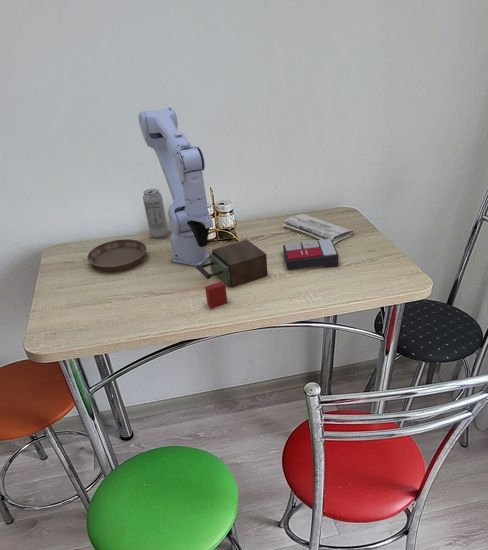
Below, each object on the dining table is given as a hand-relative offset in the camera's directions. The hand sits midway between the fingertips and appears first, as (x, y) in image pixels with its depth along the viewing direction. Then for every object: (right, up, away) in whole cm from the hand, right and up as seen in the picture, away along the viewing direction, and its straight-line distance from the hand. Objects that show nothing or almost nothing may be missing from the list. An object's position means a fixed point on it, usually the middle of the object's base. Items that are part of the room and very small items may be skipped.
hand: (202, 245), depth 136 cm
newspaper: (+34, +10, +26) cm, 44 cm away
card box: (+5, -17, -8) cm, 20 cm away
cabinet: (+10, -7, +4) cm, 13 cm away
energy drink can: (-19, +9, +28) cm, 35 cm away
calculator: (+31, -2, +10) cm, 32 cm away
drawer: (+7, -8, +2) cm, 11 cm away
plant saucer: (-28, -2, +14) cm, 31 cm away
